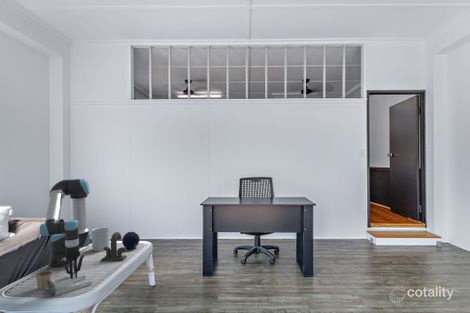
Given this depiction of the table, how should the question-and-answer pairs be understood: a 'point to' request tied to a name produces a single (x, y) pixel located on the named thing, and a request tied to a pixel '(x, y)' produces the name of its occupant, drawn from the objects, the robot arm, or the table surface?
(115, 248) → the faucet
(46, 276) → the flower pot
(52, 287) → the rail
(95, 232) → the utensil holder
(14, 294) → the table surface
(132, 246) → the decorative orb
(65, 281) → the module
